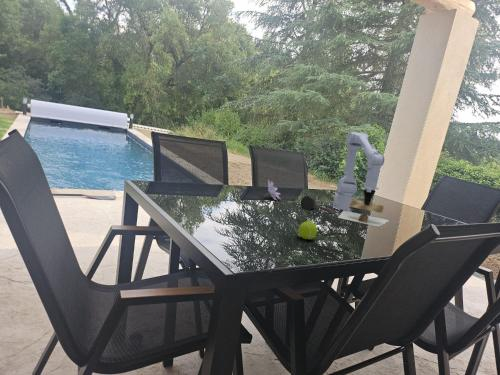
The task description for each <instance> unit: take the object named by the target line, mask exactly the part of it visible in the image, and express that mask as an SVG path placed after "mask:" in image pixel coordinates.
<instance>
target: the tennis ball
mask: <svg viewBox="0 0 500 375" xmlns="http://www.w3.org/2000/svg"><path fill="white" fill-rule="evenodd" d="M298 233H299V236H300V237H301V238H302V239H304V240H307V239H308V240H307V241H309V240H313V238H315V237H316V236H317V234H318V227H317V225H316V224H315V223H314V222H312V221H310V220H309V221H308V220H307V221H304V222H302V223H301V224H300V225H299V226H298Z"/></svg>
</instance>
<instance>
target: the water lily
mask: <svg viewBox="0 0 500 375" xmlns="http://www.w3.org/2000/svg"><path fill="white" fill-rule="evenodd" d="M267 191H268V192H267V193H266V194H265V195H264V196H263V198H266V197H267V196H268V195H269V194H270V197H272V199H274V201H275V200H277V199H279V200H282V198H281V197H280V195H281V193H280V192H279V191H278V187H275V186H274V182H273V181H270V179H267ZM276 197H277V198H276Z"/></svg>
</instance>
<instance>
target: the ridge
mask: <svg viewBox="0 0 500 375" xmlns="http://www.w3.org/2000/svg"><path fill="white" fill-rule="evenodd" d="M361 214H362V215H360V217H359V221H361V222H366V223H367V220H368V216H369V215H368V213H365V212H362V213H361Z"/></svg>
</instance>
